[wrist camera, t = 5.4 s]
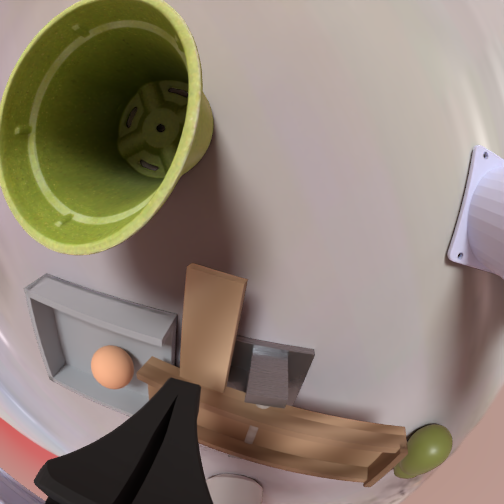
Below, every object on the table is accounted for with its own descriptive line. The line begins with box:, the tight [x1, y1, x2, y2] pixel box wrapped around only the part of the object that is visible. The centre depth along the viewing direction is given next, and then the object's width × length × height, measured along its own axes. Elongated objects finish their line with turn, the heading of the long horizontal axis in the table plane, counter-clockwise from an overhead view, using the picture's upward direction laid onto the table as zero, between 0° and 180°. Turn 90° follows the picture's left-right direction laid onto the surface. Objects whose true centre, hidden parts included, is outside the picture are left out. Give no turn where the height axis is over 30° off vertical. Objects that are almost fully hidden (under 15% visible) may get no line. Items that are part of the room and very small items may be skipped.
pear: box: [394, 424, 452, 479], centre depth 21 cm, size 6×5×10 cm
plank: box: [136, 263, 408, 487], centre depth 14 cm, size 18×13×2 cm
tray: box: [24, 274, 177, 417], centre depth 19 cm, size 12×10×3 cm
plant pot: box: [0, 0, 213, 255], centre depth 11 cm, size 9×9×9 cm
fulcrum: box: [227, 336, 315, 459], centre depth 18 cm, size 6×9×5 cm, turn 169°
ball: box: [91, 345, 134, 389], centre depth 19 cm, size 4×4×4 cm
